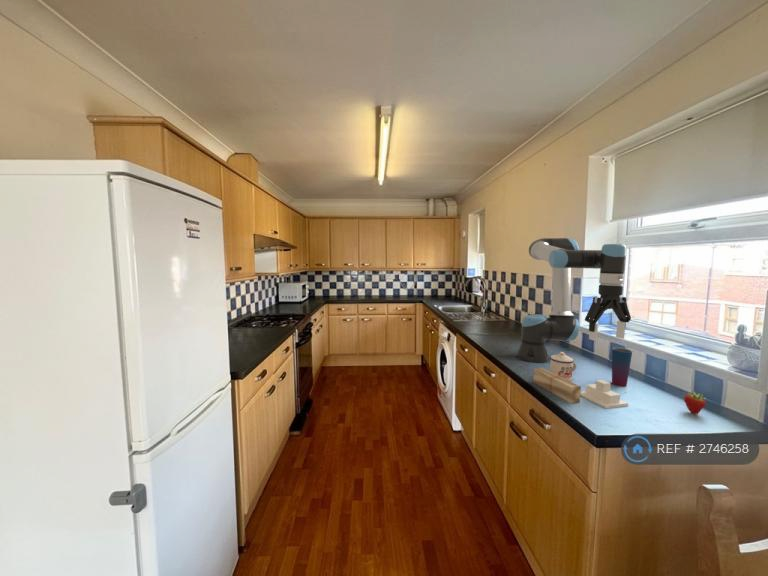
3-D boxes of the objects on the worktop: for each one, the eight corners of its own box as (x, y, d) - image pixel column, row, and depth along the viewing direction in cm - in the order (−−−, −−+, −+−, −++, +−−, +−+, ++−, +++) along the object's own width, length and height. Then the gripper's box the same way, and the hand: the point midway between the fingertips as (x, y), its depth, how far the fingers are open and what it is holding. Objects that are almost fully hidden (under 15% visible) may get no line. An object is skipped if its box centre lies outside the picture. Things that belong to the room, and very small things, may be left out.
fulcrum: (577, 394, 122) (579, 376, 121) (598, 392, 124) (600, 375, 123) (605, 408, 110) (607, 389, 110) (628, 405, 112) (629, 387, 112)
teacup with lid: (559, 382, 134) (560, 356, 132) (544, 374, 142) (546, 349, 141) (583, 380, 136) (584, 354, 135) (567, 373, 145) (568, 348, 144)
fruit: (699, 418, 104) (702, 395, 103) (679, 411, 109) (681, 389, 108) (707, 415, 106) (709, 393, 105) (687, 408, 111) (689, 387, 110)
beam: (570, 403, 114) (571, 387, 113) (533, 382, 133) (534, 368, 133) (579, 402, 115) (581, 386, 114) (541, 381, 134) (542, 367, 134)
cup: (632, 388, 128) (636, 352, 127) (614, 386, 130) (617, 351, 128) (623, 381, 135) (626, 348, 134) (606, 380, 136) (608, 347, 135)
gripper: (594, 285, 112) (589, 343, 114) (645, 285, 118) (640, 339, 120) (576, 284, 119) (572, 338, 121) (625, 283, 126) (621, 334, 128)
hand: (606, 339), depth 121 cm, fingers open, 13 cm apart
